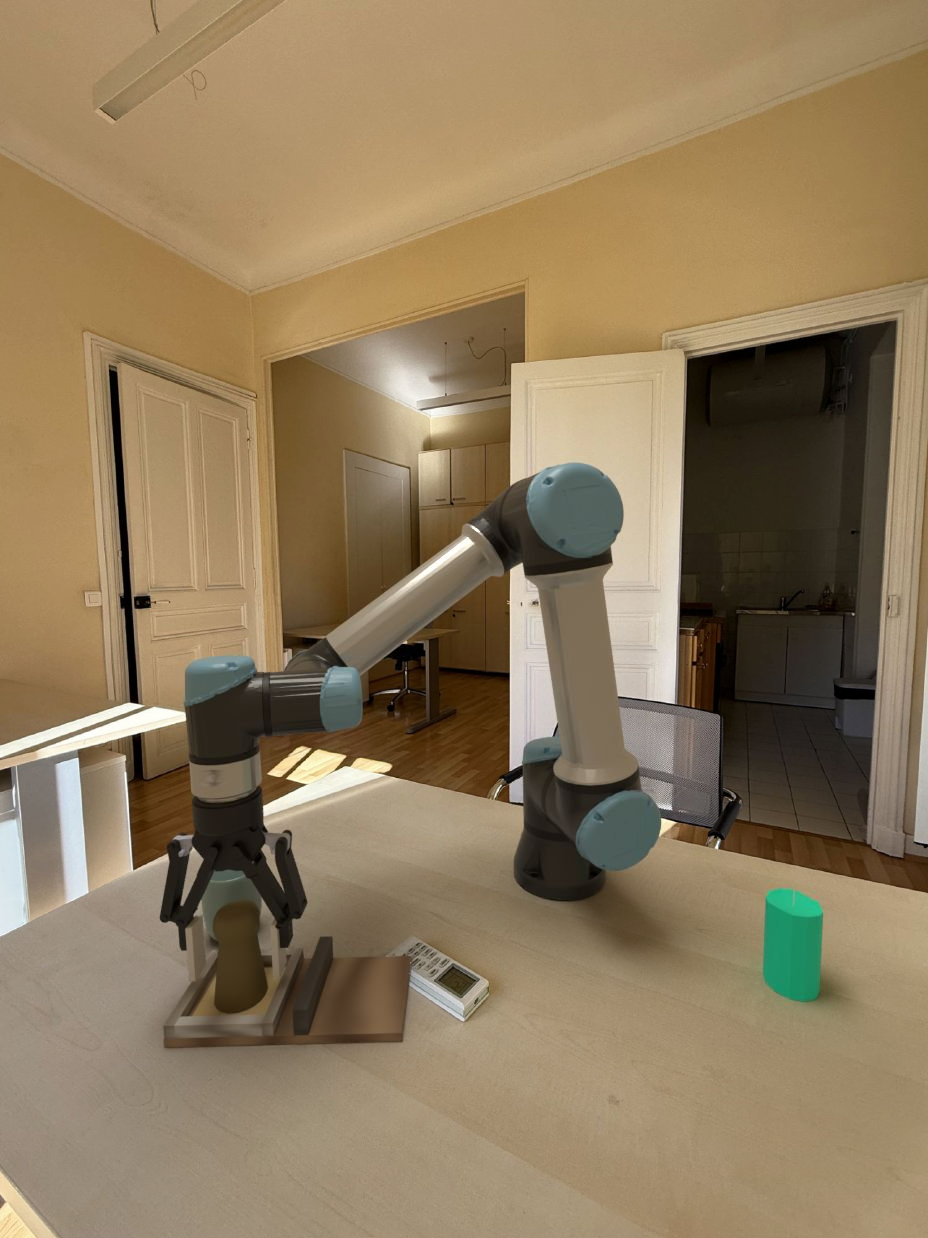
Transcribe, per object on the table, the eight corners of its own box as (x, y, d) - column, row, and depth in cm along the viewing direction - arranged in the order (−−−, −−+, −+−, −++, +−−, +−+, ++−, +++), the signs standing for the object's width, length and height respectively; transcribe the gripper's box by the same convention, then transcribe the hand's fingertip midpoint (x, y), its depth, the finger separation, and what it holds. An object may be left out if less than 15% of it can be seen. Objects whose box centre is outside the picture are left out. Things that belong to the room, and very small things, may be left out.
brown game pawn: (278, 982, 68) (273, 898, 67) (241, 1020, 62) (235, 928, 61) (241, 970, 70) (235, 888, 69) (202, 1005, 64) (195, 916, 63)
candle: (800, 1009, 64) (804, 911, 62) (752, 975, 69) (755, 884, 68) (830, 990, 66) (834, 895, 65) (781, 959, 72) (785, 871, 71)
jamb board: (411, 963, 72) (410, 934, 72) (401, 1041, 60) (400, 1007, 60) (213, 968, 72) (211, 939, 72) (164, 1047, 60) (161, 1013, 60)
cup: (243, 955, 75) (238, 884, 74) (192, 948, 76) (187, 879, 75) (273, 919, 82) (270, 854, 81) (227, 913, 84) (223, 850, 83)
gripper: (112, 806, 60) (128, 998, 62) (313, 801, 60) (322, 993, 62) (150, 780, 67) (164, 952, 70) (329, 775, 68) (337, 948, 70)
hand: (238, 971), depth 66 cm, fingers open, 9 cm apart
